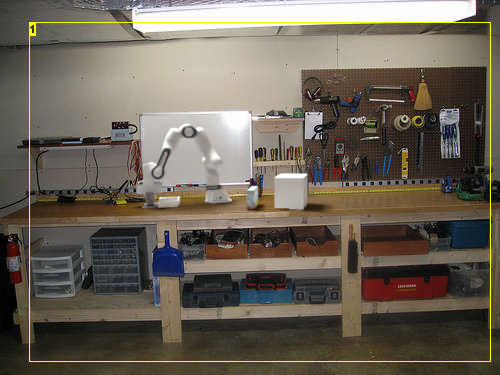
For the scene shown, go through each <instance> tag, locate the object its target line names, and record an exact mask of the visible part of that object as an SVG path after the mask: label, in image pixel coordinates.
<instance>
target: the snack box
mask: <svg viewBox="0 0 500 375" xmlns="http://www.w3.org/2000/svg"><path fill="white" fill-rule="evenodd" d="M258 205H259V185H258V186H257V185H251V186H250V187H249V188H248V189H246V210H247V209H253V208H254V209H256V207H257V206H258ZM254 209H253V210H254Z"/></svg>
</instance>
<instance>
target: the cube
mask: <svg viewBox="0 0 500 375" xmlns="http://www.w3.org/2000/svg"><path fill="white" fill-rule="evenodd" d="M273 178H274V182H273V185H274V190H273V191H274V194H273V195H274V209H275V208H289V209H304V207H305V206H306V207H307V205H308V173H280V174H278V175H276V176H274V177H273ZM306 204H307V205H306ZM306 207H305V208H306ZM304 210H305V209H304Z"/></svg>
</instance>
